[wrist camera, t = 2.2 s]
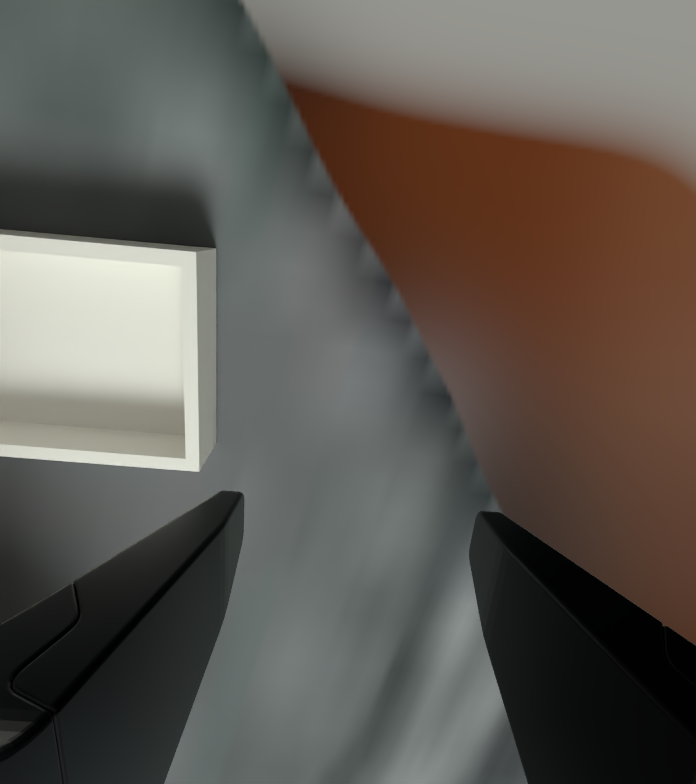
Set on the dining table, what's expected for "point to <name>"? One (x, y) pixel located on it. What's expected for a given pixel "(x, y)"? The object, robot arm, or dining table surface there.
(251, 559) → the dining table surface
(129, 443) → the shell lid
